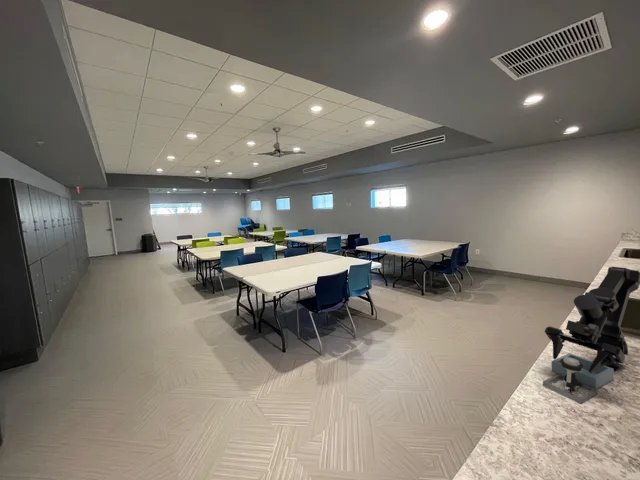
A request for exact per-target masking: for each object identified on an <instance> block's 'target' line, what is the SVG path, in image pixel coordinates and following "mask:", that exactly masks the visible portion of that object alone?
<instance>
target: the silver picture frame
mask: <svg viewBox="0 0 640 480" xmlns="http://www.w3.org/2000/svg"><path fill="white" fill-rule="evenodd" d="M564 376H565V375H563V374H560V373H559V374H554V375H553V376H550V377H549V378H547V379H545V380H542V386H543V387H545V388H547V389H549V390H551V391H554V392H555V393H557V394H560V395H562V396H564V397H566V398H567V399H571V400H573V401H574V402H576V403H578V404H581V405H582V404H584V403H585V402H587V401H589V400H590V399H592V398H594V397H595V396H597V395H598V394H599V392H598V391H599V389H596V388H593V387H591V386H589V385H586V384H584V383H581V382H579V381H578V388H580V389H583V390H585V391H586V392H585V393H584V394H582V395H581V396H579V395H576V394H574V393H573V392H568V391H566V390H564V388H561V387H559V386H557V385H555V384H554V383H556V382H557V381H560V380H562V381H563V382H565V380H564Z"/></svg>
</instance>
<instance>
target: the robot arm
mask: <svg viewBox="0 0 640 480" xmlns="http://www.w3.org/2000/svg"><path fill="white" fill-rule="evenodd" d="M639 289H640V271H639V270H635V269H630V268H627V267H619V266H609V267H608V270H607V273H606V274H605V276H604V277H603V279H602V281H601V282H600V283H599V285H598V287H596V288H591V289H590V290H589V291H586V292H585V294H580V295H578V296H576V297H574V299H573V304H574V306H575V308H576V310H577V312H578V314H579V315H580V316H581V317H580V318H579V320H576V321H573V320H569V319H568V320H567V323H566V326H565V331H568V334H565V333H564V332H563V330H562V329H559V328H557V327H553V326H550V325H549V326H547V327H545V329H544V333H545V335H546V336H547V338H548V339H549V340H550V341H551V342H552V358H553V360H555V359H557V358H559V357H558V356H559V355H560V353H561V351H562V349H563V348H564V344H563V343H565V342H569V343H572V344H575V345H578V346H581V347H584V348H587V349H590V350H594V351H596V356H595V358H594V359H593V360H592V361H593V363H592V365H591V366H590V369H589V372H590V373H593V372H595V371H596V370H598V369H600V368H601V367H603V366H607V367H610V368H613V369H614V371H615V372H616V371H619V370H620V369H622V368H623V367H624V365H623V364H624V362H625V360H626V355H628V354H629V345H628V343H627V341H626V339H625V334H624V333H623V330H622V329H621V325H622V323H623V319H624V316H625V312H626V308H627V304H628V302H629V298H630V297H631V296H630V295H631V294H632V293H633V292H635V291H637V290H639ZM604 312H605V313H604Z"/></svg>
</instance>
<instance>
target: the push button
mask: <svg viewBox="0 0 640 480" xmlns="http://www.w3.org/2000/svg"><path fill="white" fill-rule="evenodd" d="M560 362H561V363H562V366H563V367H564V368H566V369H567V374H566V376H564V380H565V381H564V380H563V390H566V391H568V392H570V393H573V391H575V392H577V391H578V389H579V387H578V381H577V379H576V376H575V372H577V371H581V368H582V367H583V365H582V364H581V363H580V362H579V361H578V360H577V359H575V358H571V357H564V358H563V359H561V360H560Z"/></svg>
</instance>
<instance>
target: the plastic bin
mask: <svg viewBox="0 0 640 480" xmlns="http://www.w3.org/2000/svg"><path fill="white" fill-rule="evenodd" d="M564 357H571V358H575V359H577V360H578V361H579V362H580V363H581V364H582V365H583V367H582V368H581V371H577V372H575V376H576V379H577V381H579V382H581V383H584V384H586V385H589V386H591V387H593V388H596V389H598V390H599V389H601V388H603V387H604V386H606V385H607V384H609V383H611V382H612V381H614V373H615V372H614V369H613V368H610V367H607V366H603V367H601V368H600V369H598V370H596V371H595V372H593V373H590V372H589V369H590V366H591V365H592V363H593V360H590V359H587V358H584V357H582V356H578V355H577V354H573V353H570V352H569V353H566V354H565V355H562V356H560V357H557V358H556V359H553V360H552V361H551V368H550V371H551V372H552V373H553V374H555V375H557V374H559V373H560V374H563V375H565V376H566V374H567V369H566V368H564V367H563V366H562V363H561V362H560V360H561V359H563V358H564Z"/></svg>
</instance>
